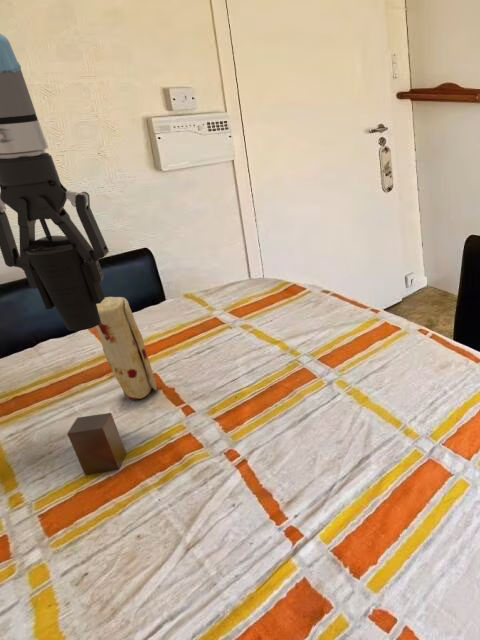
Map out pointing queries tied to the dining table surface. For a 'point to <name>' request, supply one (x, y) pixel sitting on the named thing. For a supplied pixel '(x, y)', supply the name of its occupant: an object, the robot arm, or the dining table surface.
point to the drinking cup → (64, 279)
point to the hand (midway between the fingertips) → (76, 303)
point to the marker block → (97, 443)
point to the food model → (125, 348)
